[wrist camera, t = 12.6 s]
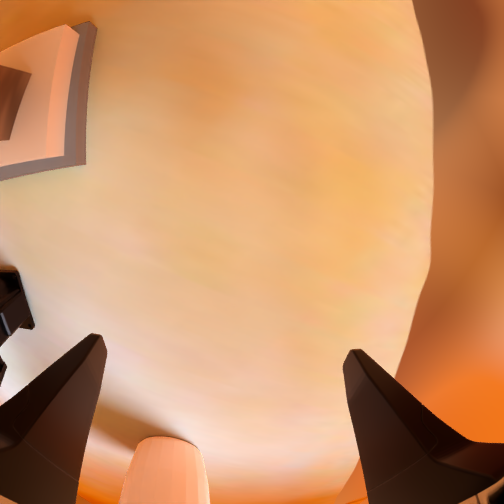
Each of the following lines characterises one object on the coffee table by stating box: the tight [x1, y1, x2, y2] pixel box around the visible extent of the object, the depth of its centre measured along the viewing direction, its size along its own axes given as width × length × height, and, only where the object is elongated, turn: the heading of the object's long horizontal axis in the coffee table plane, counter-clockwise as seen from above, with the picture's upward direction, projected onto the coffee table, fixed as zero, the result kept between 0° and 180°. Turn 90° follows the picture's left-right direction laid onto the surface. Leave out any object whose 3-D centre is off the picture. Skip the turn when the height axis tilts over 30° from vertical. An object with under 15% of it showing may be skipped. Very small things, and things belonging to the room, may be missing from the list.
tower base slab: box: [0, 21, 97, 181], centre depth 15 cm, size 12×12×2 cm
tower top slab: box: [0, 24, 80, 167], centre depth 13 cm, size 10×10×2 cm
